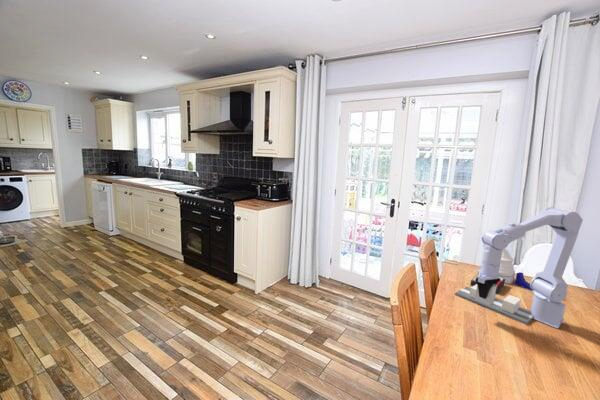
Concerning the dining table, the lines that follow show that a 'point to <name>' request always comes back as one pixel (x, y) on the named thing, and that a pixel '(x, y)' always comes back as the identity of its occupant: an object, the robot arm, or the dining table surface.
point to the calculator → (499, 284)
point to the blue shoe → (522, 281)
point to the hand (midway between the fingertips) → (485, 295)
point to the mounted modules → (508, 303)
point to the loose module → (489, 298)
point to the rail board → (498, 307)
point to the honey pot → (506, 267)
